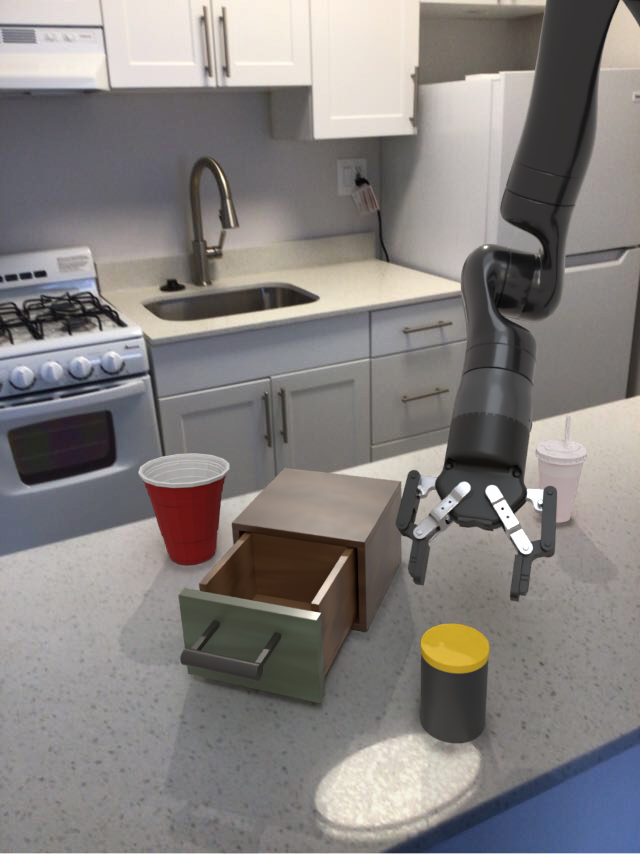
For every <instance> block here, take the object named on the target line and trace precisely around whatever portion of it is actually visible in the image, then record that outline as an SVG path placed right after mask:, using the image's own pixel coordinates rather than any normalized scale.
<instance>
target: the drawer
mask: <svg viewBox="0 0 640 854" xmlns="http://www.w3.org/2000/svg"><path fill="white" fill-rule="evenodd" d="M198 588H199V590H196V589H191V588H186V587H184V588H183V589H182V591H181V592H179V593H178V595H177V597H178V604H179V613H180V619H181V628H182V636H183V644H184V645H183V646H184V648H183V650H182V651H181V654H180V664H181V665H183V666H185V667H186V669H187V674H188V675H191V676H196V677H201V678H204V679H205V678H206V679H210V680H214V681H218V682H223V683H227V684H231V685H235V686H236V685H237V686H241V687H246V688H249V689H254V690H258V691H263V692H267V693H271V694H277V695H281V696H284V697H285V696H286V697H290V698H295V699H298V700H299V699H300V700H304V701H306V702H307V701H308V702H312V703H316V704H321V703H322V702H323V699H324V698H325V696H326V691H325V677H326V675H327V673H328V671H329V670H330V668H331V665H332V663H333V661H335V658H336V656H337V654H338V653H339V650H340V649H341V646H342V645H343V642H344V641H345V639H346V637H347V635H348V633H349V631H350V630H351V629H350V627H351V626H352V624H353V622H354V620H355V618H356V616H357V614H358V608H357V607H358V603H357V560H356V548H354V547H348V546H341V545H334V544H328V543H321V542H314V541H307V540H301V539H294V538H287V537H280V536H274V535H267V534H260V533H254V532H247V531H246V532H245V533H244V534H243V535H242V536H241V537H240V539H239V540H238V541H237V542H236V543H235V544H234V545H233V544H232V546H231V547H230V548H229V549H228V550H227V551H226V553H225V554H224V555H223V556H222V557H221V558H220V559H219V561H217V563H216V564H215V565H213V567H212V568H211V570H210V571H208V573H206V575H205V576H204V577H203V578H202V579H201V580H200V582H199V583H198Z"/></svg>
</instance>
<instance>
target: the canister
mask: <svg viewBox="0 0 640 854" xmlns="http://www.w3.org/2000/svg"><path fill="white" fill-rule="evenodd" d="M489 642H490V641H488V639H487V637H486V636H485V635H484V634H483V633H482V632H480V631H479V630H477V629H476V628H474V627H471V626H469V625H466V624H461V623H453V622H451V623H441V624H437V625H435V626H432V627H430V628H429V629H427V630H426V631H425V632H424V633H423V634H422V636H421V638H420V647H419V648H420V689H419V690H420V695H419V699H420V701H419V703H420V704H419V706H420V707H419V719H420V720H419V721H420V723H421V725H422V728H423V729H424V730H425V731H426V733H428V734H429V735H430V736H431V737H433V738H434V739H437V740H439V741H441V742H445V743H450V744H462V743H463V744H464V743H468V742H471V741H473V740H475V739H476V738H478V737H480V736H481V734H482V733H483V732H484V729H485V727H486V717H487V716H486V713H487V697H488V696H487V695H488V678H489V677H488V675H489V660H490V659H489V658H490V651H491V650H490V647H491V645H490V643H489Z"/></svg>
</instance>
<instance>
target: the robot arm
mask: <svg viewBox="0 0 640 854" xmlns="http://www.w3.org/2000/svg"><path fill="white" fill-rule="evenodd" d="M621 1H622V3H623V4H624V5H625V7H626V8H627V10H628V11H629V13H630V14H631V15H632V17H633V18H634V20H635V23H636V24H637V25H638V27H639V28H640V0H545V5H544V11H543V17H542V23H541V31H540V37H539V41H538V48H537V56H536V63H535V69H534V73H533V79H532V80H533V81H532V85H531V91H530V96H529V100H528V106H527V110H526V113H525V118H524V122H523V126H522V129H521V133H520V137H519V140H518V143H517V147H516V150H515V153H514V156H513V160H512V163H511V168H510V171H509V172H508V173H509V174H508V176H507V181H506V183H505V187H504V190H503V193H502V197H501V201H500V206H499V213H500V216H501V218H502V219H503V220H504V221H505V222H506V223H508V224H509V225H510V226H513V227H514V228H517V229H519V230H520V231H522V232H525V233H527V234H528V235H531V236H533V238H535V239H537V241H538V242H539V248H538V252H532V251H529V250H528V251H527V250H524V249H519V248H513V247H509V246H505V245H502V244H501V245H500V244H495V243H485V244H481V245H479V246H476V247H475V248H474V249H473V250H472V251H471V252H470V253H469V254H468V255H467V257H466V259H465V260H464V263H463V265H462V269H461V271H460V272H461V273H460V295H461V301H462V307H463V313H464V320H465V321H464V322H465V330H466V346H465V354H464V358H463V359H464V360H463V366H462V372H461V378H460V381H459V386H458V389H457V391H456V395H455V399H454V402H453V408H452V415H451V420H450V425H449V426H450V427H449V431H448V432H449V433H448V438H447V443H446V444H447V445H446V450H445V455H444V462H443V467H442V469H441V472H440V474H439V475H438V476H437V477H433V476H428V475H423V474H421V473H420V472H419V470H416V469H412V470H411V469H410V471H409V472H408V473H407V475H406V479H405V483H404V488H403V491H402V494H401V503H400V507H399V511H398V515H397V519H396V527H397V528H398V530H399V532H400V533H401V536H402V537H406V538H408V539H409V540H411V541H412V543H411V548H410V552H409V553H410V554H409V560H408V564H407V570H408V571H407V572H408V574H409V576H410V577H411V578H412V581H413V583H414V584H415V585H417V586H424V585H425V581H426V577H427V570H428V564H429V559H430V552H431V546H430V543H431V542H432V541H433V540H434V539H435V538H436V537H437V536H438V535H439V534H441V533H443V532H445V531H446V530H447V529H448V528H449V527H450V526H451V525H453V523H455V524H457V525H458V526H459V528H467V529H469V528H479V529H481V530H483V531H490V532H494V530H497V529H500V528H501V529H502V531H503V532H504V534H505V536H506V538H507V539H508V541H509V542H510V543H511V544H512V546H513V548H514V549H515V551H516V554H514V559H513V560H514V561H513V567H512V574H511V584H510V590H509V599H510V601H511V602H516V603H517V602H520V597H521V596H523V597H526V596H527V594H528V592H529V589H530V588H529V587H530V582H531V581H530V580H531V572H532V564H533V563H534V561H535V560H537V559H540V558H546V559H547V558H552V557H554V555H555V553H556V537H557V535H556V534H557V522H556V513H557V490H556V488H555V487H553V486H547V487H545V488H544V489H540V488H527V486H526V483H525V476H526V475H525V474H526V468H527V467H526V466H527V459H528V453H529V443H530V436H531V432H532V428H533V412H534V384H535V377H536V370H537V369H536V368H537V360H538V354H539V347H538V346H539V345H538V341H537V339H536V336H535V335H534V334H533V333H532V332H531V331H530V330H529V329H528V328H526V327H524V326H522V325H520V324H518V323H517V322H514V321H512V320H510V319H513V320H517V321H522V322H527V323H531V324H538V323H543V322H545V321H547V320H548V319H549V318H551V317H552V316H553V315H555V313H556V312H557V310H558V309H559V307H560V306H561V303H562V301H563V297H564V290H565V281H566V279H565V277H566V257H567V255H566V253H567V245H568V237H569V231H570V227H571V222H572V218H573V214H574V211H575V209H576V204H577V203H578V199H579V197H580V194H581V191H582V188H583V185H584V183H585V180H586V176H587V174H588V171H589V167H590V164H591V162H592V157H593V154H594V150H595V144H596V138H597V131H598V117H599V116H598V111H599V87H600V86H599V84H600V72H601V66H602V60H603V54H604V48H605V45H606V40H607V37H608V33H609V29H610V27H611V24H612V21H613V18H614V15H615V13H616V12H617V9H618V7H619V4H620V2H621ZM432 491H436V494H437V495H438V497H439V499H440V502H439V503H438V504H437V505H436V506H435V507H433V508H432V509H431V510H430V512H429V513H428V515H427V516H426V517H425V518H424V519H423V520H422V521H421V522H420V523H419V524H416V519H417V515H418V510H419V506H420V502H421V500H424V499H426V498H428V496H429V494H430V492H432ZM527 502H529V503H531V504H532V506H533V510H534V512H535V513H536V514H538V515H541V514H542V516H541V525H540V526H541V527H540V539H536V540H530V539H529V537H528V535H527V534H526V532H525V531H524V529H523V527H522V525H521V523H520V521H519V519H518V518H517V517H516V515H515V514H517V512H518V511H519V510H520V509H522V507H524V506H525V505H526V503H527Z"/></svg>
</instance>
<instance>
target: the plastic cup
mask: <svg viewBox="0 0 640 854" xmlns="http://www.w3.org/2000/svg"><path fill="white" fill-rule="evenodd" d="M229 472H230V463H229V461H227V460H226V459H224V458H223V457H220V456H217V455H212V454H205V453H197V452H195V453H194V452H193V453H191V452H190V453H176V454H170V455H164V456H160V457H157V458H153V459H151V460H148V461H146V462H145V463H144V464H142V465H140V467H139V469H138V472H137V473H138V477H139V478H140V479H141V480H142V482H143V483H144V487H145V489H146V491H147V496H148V497H149V500H150V502H151V506H152V509H153V512H154V516H155V519H156V522H157V525H158V528H159V532H160V535H161V536H162V539H163V542H164V546H165V549H166V552H167V554H168V555H169V558H170V559H171V561H172V562H174V563H176V564H178V565H184V566H185V565H186V566H189V565H190V566H192V565H198V564H201V563H204V562H206V561H207V562H208V560H210V559H212V558H213V557H214V555H216V550H217V544H218V531H219V528H220V517H221V505H222V495H223V491H224V484H225V481H226V477H227V475H228V474H229Z"/></svg>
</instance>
